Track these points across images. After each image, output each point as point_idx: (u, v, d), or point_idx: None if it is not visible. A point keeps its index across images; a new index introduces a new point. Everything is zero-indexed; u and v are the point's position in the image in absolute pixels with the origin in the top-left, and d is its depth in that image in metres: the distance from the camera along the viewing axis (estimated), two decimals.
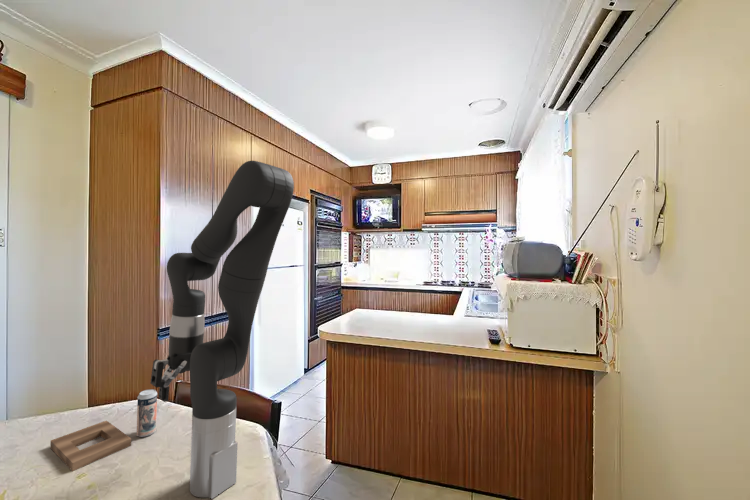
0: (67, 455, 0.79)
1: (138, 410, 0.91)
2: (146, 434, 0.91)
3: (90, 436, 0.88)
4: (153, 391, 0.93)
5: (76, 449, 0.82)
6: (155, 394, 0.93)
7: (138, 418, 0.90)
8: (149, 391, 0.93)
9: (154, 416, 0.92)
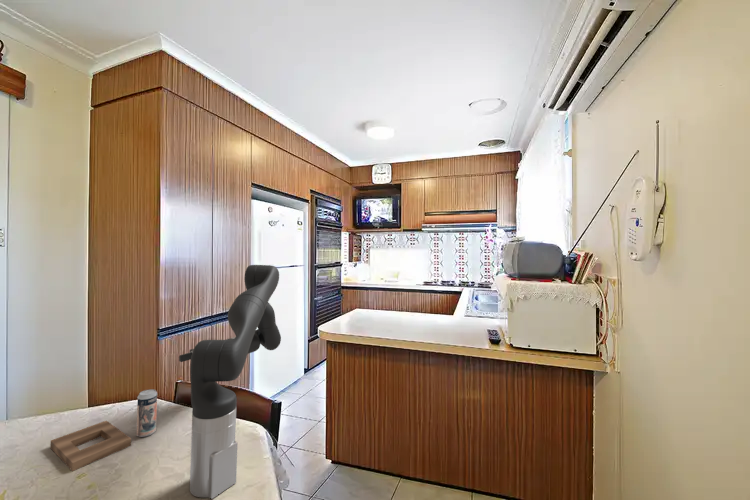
0: (67, 455, 0.79)
1: (138, 410, 0.91)
2: (146, 434, 0.91)
3: (90, 436, 0.88)
4: (153, 391, 0.93)
5: (76, 449, 0.82)
6: (155, 394, 0.93)
7: (138, 418, 0.90)
8: (149, 391, 0.93)
9: (154, 416, 0.92)
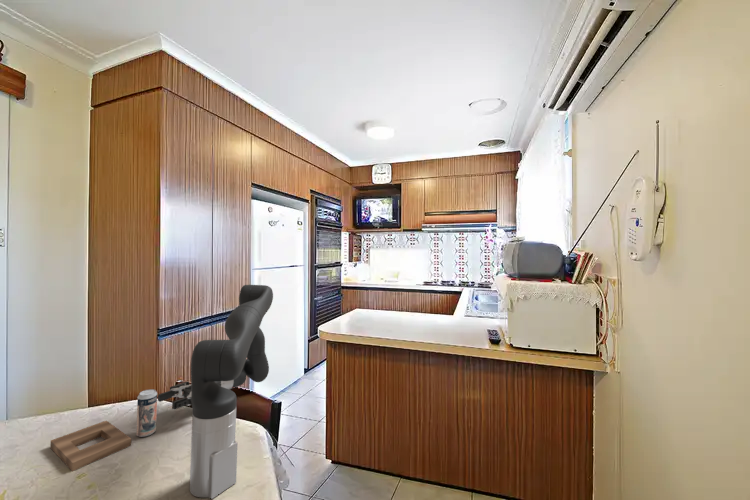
0: (67, 455, 0.79)
1: (138, 410, 0.90)
2: (146, 434, 0.91)
3: (90, 436, 0.88)
4: (153, 391, 0.93)
5: (76, 449, 0.82)
6: (155, 394, 0.93)
7: (138, 418, 0.90)
8: (149, 391, 0.93)
9: (154, 416, 0.92)
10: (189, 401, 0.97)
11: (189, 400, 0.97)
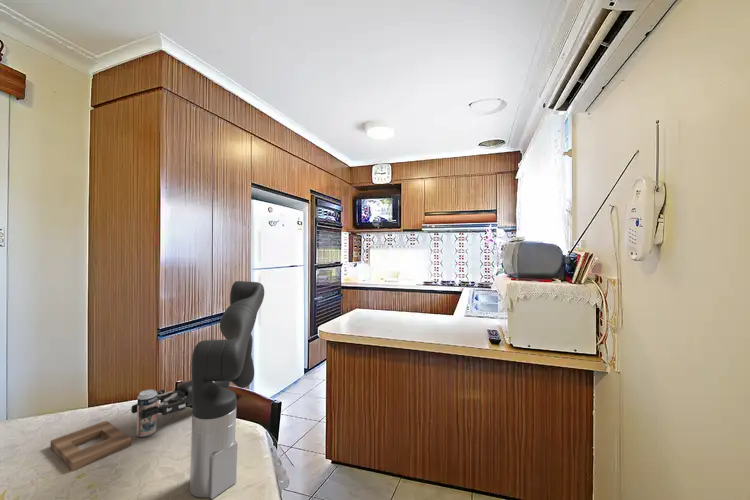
0: (67, 455, 0.79)
1: (138, 410, 0.90)
2: (146, 434, 0.91)
3: (90, 436, 0.88)
4: (153, 391, 0.93)
5: (76, 449, 0.82)
6: (155, 394, 0.93)
7: (138, 418, 0.90)
8: (149, 391, 0.93)
9: (154, 416, 0.92)
10: (159, 410, 0.92)
11: (159, 409, 0.92)
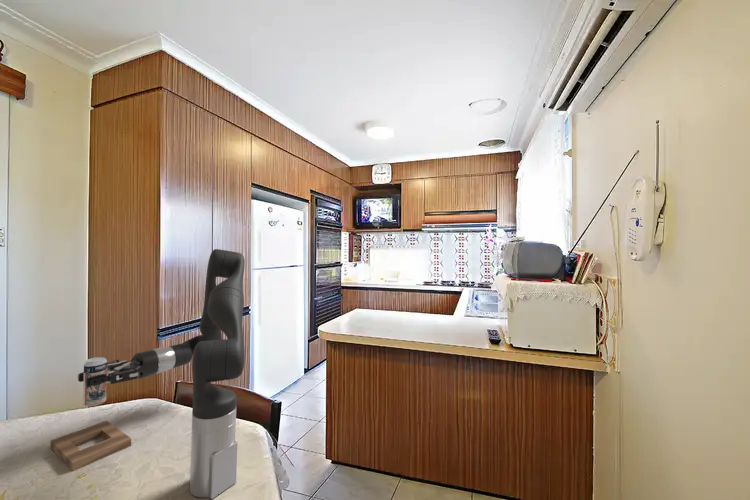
0: (67, 455, 0.79)
1: (84, 378, 0.84)
2: (93, 404, 0.84)
3: (90, 436, 0.88)
4: (102, 358, 0.87)
5: (76, 449, 0.82)
6: (104, 361, 0.86)
7: (84, 386, 0.84)
8: (98, 358, 0.87)
9: (103, 385, 0.86)
10: (107, 378, 0.85)
11: (108, 377, 0.85)
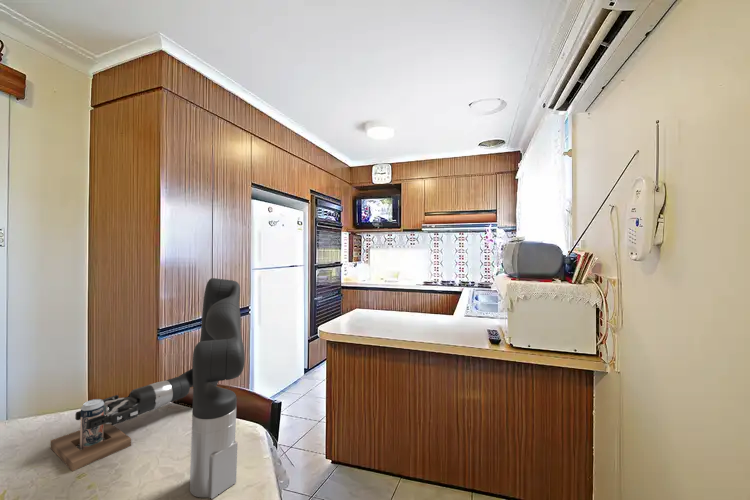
0: (67, 455, 0.79)
1: (81, 422, 0.84)
2: None
3: None
4: (99, 401, 0.87)
5: (76, 449, 0.82)
6: (101, 404, 0.86)
7: (81, 430, 0.84)
8: (95, 401, 0.86)
9: (100, 428, 0.86)
10: (108, 419, 0.85)
11: (108, 418, 0.85)
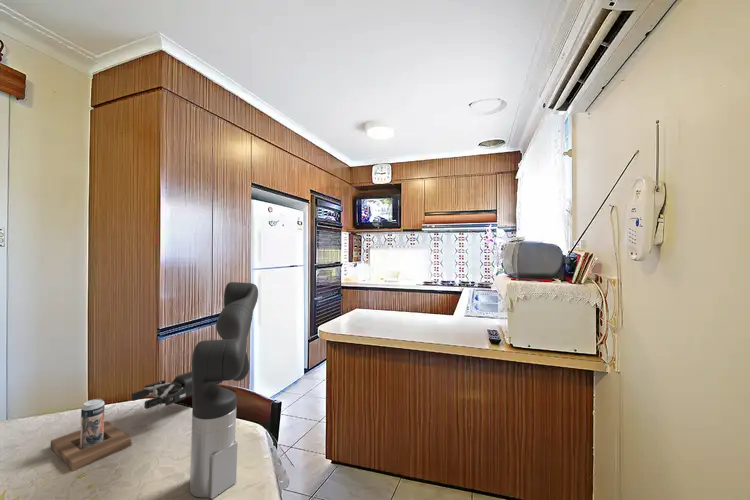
0: (67, 455, 0.79)
1: (82, 422, 0.84)
2: None
3: None
4: (100, 401, 0.87)
5: (76, 449, 0.82)
6: (101, 404, 0.86)
7: (82, 430, 0.84)
8: (95, 401, 0.87)
9: (100, 428, 0.86)
10: (162, 400, 0.96)
11: (162, 399, 0.96)
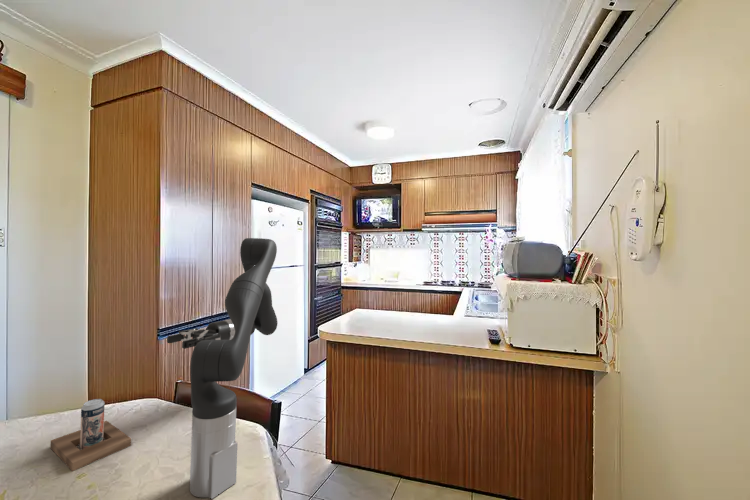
0: (67, 455, 0.79)
1: (82, 422, 0.84)
2: None
3: None
4: (100, 401, 0.87)
5: (76, 449, 0.82)
6: (101, 404, 0.86)
7: (82, 430, 0.84)
8: (95, 401, 0.87)
9: (100, 428, 0.86)
10: (199, 342, 0.95)
11: (199, 341, 0.95)
